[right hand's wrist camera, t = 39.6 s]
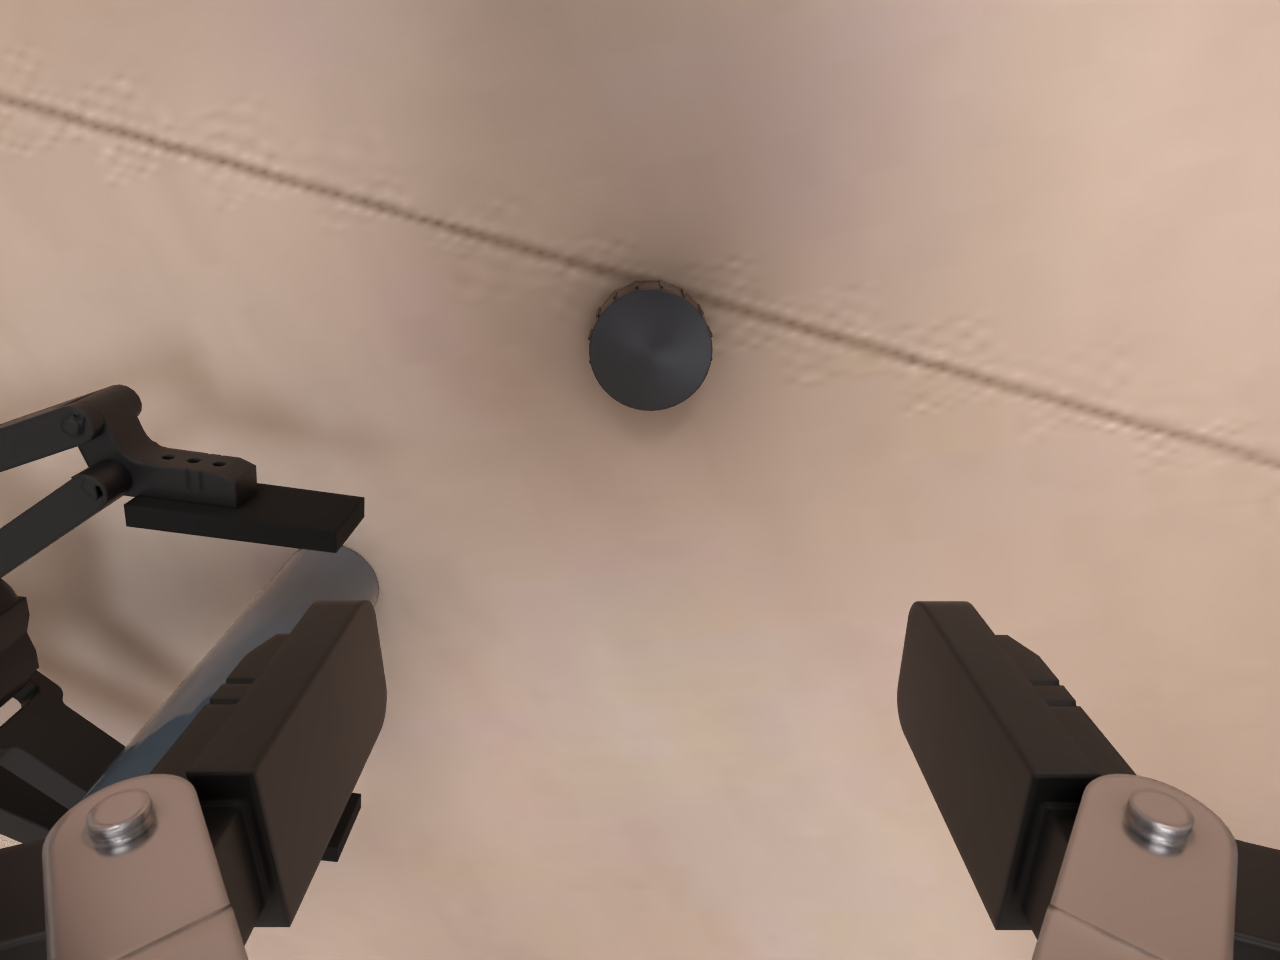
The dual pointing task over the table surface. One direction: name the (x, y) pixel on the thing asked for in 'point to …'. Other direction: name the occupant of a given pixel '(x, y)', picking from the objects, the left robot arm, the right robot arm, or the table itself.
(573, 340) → the table surface
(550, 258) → the table surface
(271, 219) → the table surface
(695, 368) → the lid
